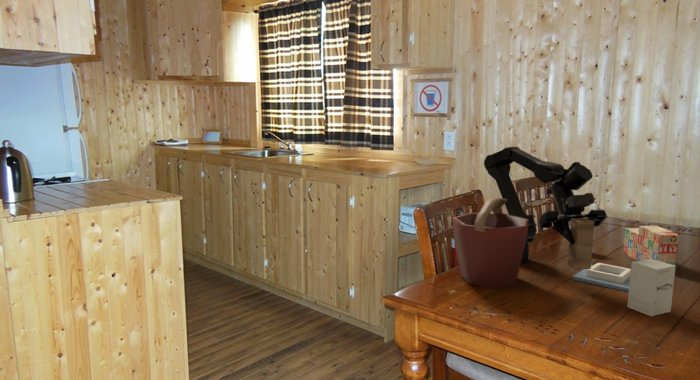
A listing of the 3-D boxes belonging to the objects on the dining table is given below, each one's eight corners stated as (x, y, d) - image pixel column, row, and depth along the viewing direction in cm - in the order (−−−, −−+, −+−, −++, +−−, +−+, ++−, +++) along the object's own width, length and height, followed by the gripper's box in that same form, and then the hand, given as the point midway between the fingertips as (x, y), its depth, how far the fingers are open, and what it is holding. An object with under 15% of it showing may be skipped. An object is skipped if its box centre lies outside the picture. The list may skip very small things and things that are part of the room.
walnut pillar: (567, 264, 153) (570, 218, 150) (582, 264, 153) (585, 218, 151) (575, 269, 148) (579, 221, 146) (590, 269, 149) (594, 221, 146)
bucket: (481, 262, 176) (483, 190, 172) (544, 277, 161) (548, 198, 156) (438, 280, 159) (440, 200, 155) (503, 298, 144) (507, 210, 140)
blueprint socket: (572, 279, 159) (572, 270, 158) (590, 267, 170) (591, 258, 170) (629, 292, 148) (630, 281, 148) (644, 278, 159) (645, 268, 159)
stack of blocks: (622, 252, 187) (625, 219, 185) (639, 252, 187) (642, 219, 185) (656, 271, 166) (659, 234, 164) (676, 271, 166) (679, 234, 164)
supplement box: (652, 317, 131) (656, 269, 128) (626, 307, 137) (630, 261, 135) (672, 312, 133) (676, 265, 131) (645, 302, 140) (649, 257, 138)
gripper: (545, 183, 151) (561, 230, 142) (606, 182, 152) (626, 228, 143) (532, 205, 160) (546, 249, 151) (589, 203, 161) (607, 247, 152)
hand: (581, 243), depth 149 cm, fingers closed on walnut pillar, 4 cm apart
